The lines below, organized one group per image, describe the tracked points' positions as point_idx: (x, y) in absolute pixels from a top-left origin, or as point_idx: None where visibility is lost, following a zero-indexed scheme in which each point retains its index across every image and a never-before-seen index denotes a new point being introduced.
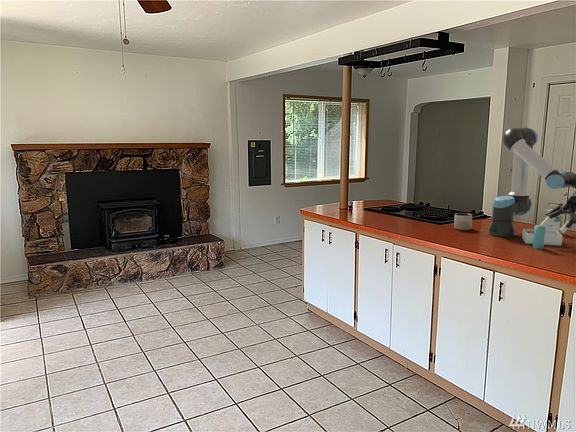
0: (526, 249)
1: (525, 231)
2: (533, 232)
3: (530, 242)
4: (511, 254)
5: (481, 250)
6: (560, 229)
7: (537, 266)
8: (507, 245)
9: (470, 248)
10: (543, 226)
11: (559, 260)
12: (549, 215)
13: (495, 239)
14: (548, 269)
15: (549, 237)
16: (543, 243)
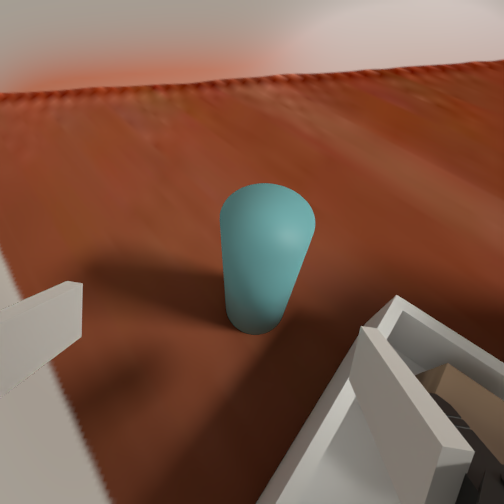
0: None
1: (486, 357)
2: (436, 388)
3: (355, 341)
4: (215, 134)
5: (304, 102)
6: (70, 284)
7: (65, 102)
8: (350, 214)
9: (340, 94)
10: (244, 235)
11: (41, 203)
12: (481, 484)
13: (493, 254)
14: (22, 103)
15: (301, 450)
16: (226, 302)
